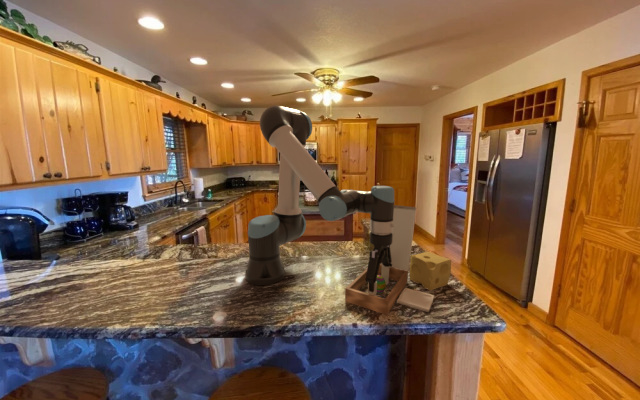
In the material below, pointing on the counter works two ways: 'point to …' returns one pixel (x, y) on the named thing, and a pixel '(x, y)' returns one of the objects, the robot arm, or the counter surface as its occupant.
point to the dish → (416, 299)
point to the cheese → (430, 270)
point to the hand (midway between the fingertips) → (378, 290)
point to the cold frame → (371, 300)
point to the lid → (402, 236)
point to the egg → (380, 284)
